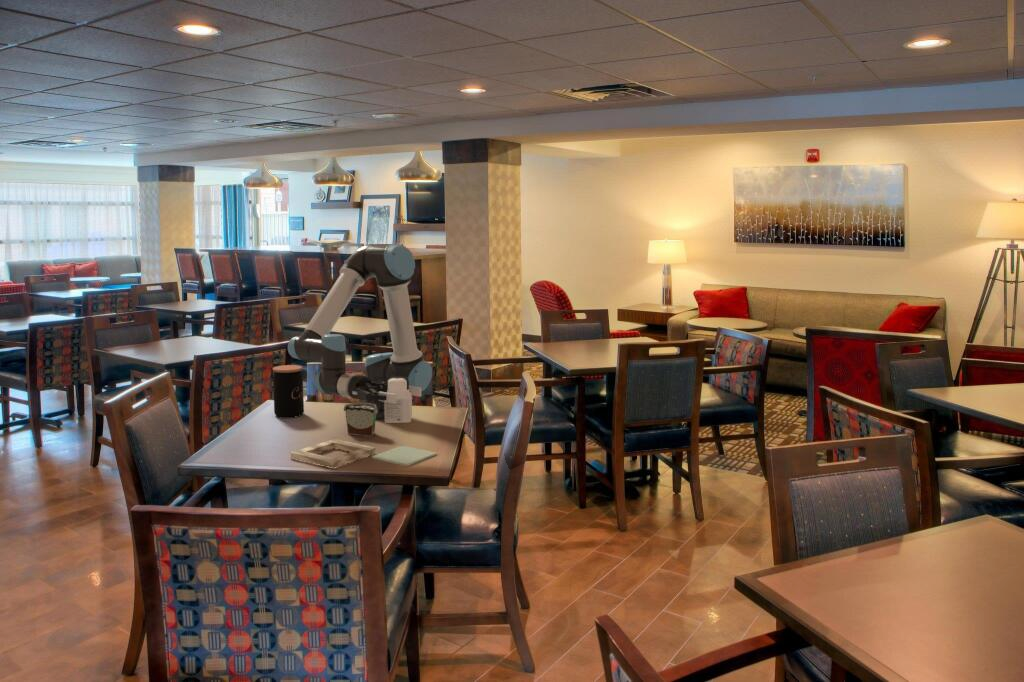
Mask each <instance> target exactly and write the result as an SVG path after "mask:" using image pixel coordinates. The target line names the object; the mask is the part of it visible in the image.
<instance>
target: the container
mask: <svg viewBox="0 0 1024 682" xmlns="http://www.w3.org/2000/svg"><path fill="white" fill-rule="evenodd" d="M387 393H392V394H397V403H396V404H394V403H388V402H384V413H385V419H384V423H386V424H389V423H391V424H392V423H397V424H398V423H411V421H412V417H413V395H412V393H411V392H409V380H408V378H405V377H391V378H389V379H388V380H387Z"/></svg>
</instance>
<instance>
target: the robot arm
mask: <svg viewBox="0 0 1024 682" xmlns="http://www.w3.org/2000/svg"><path fill="white" fill-rule="evenodd" d="M415 269H416V261H415V257H414V255H413V252H412V251H411V250H410V249H409V248H407V246H404V245H400V244H396V243H391V244H390V243H389V244H387V243H386V244H384V243H382V244H378V243H369V244H365V245H362V246H361V247H360V248H358V249H356V250H355V251H354V252H353V253H351V255H350V256H349V257H348V258H347V259H346V260H345V261H344V263H343V264H342V265H341V268H340V269H339V276H338V277H337V279H336V281H335V282H334V284H333V285H332V287H331V288H330V289H329V291H328V293H327V295H326V296H325V297H324V299H323V301H322V302H321V304H320V305H319V306H318V308H317V310H316V312H315V313H314V315H313V316H312V318H311V319H310V321H309V322H308V324H307V325H306V327H305V329H304V331H303V332H302V333H301V334H300V335H298V336H294V337H292V338H291V339H290V340H289V341H288V344H287V351H288V354H289V355H290V357H292V358H293V359H297V360H301V361H310V362H316V363H320V364H321V369H320V370H319V371H318V372H317V373H316V374H315V377H314V382H313V383H314V387H315V389H316V390H317V391H318V392H319V393H322V394H326V395H328V396H330V395H331V396H339V397H344V398H347V399H348V400H350V399H353V400H354V399H355V400H359V401H363V403H371V404H375V405H376V407H377V410H378V413H377V414H376V419H375V420H385V413H384V402H388V403H394V404H396V403H397V394H392V393H387V380H388V379H389V378H391V377H405V378H408V380H409V392H411V393H412V397H413V396H415V397H422V392H423V391H424V390H425V389H427V387H428V386H429V384H430V382H431V380H432V375H433V368H432V365H431V363H429V361H426V360H424V356H423V352H422V351H421V350H419V349H418V345H417V339H416V333H415V325H414V319H413V314H412V307H411V302H410V295H409V289H408V286H409V284H410V283H411V281H412V280H411V278H412V277H413V275H414V273H415ZM371 278H375V280H376V284H377V287H378V288H380V289H381V290H382V293H383V298H384V299H383V300H384V305H385V309H386V310H385V311H386V315H387V322H388V323H387V324H388V328H389V334H390V340H391V345H392V350H393V352H383V353H375V354H369V355H367V356H366V357H365V363H364V364H365V365H364V375H362V374H361V375H360V374H354V373H347V372H346V360H347V359H346V357H347V356H346V352H347V351H346V350H347V347H346V337H345V336H344V335H343V334H337V333H336V334H335V333H331V331H332V330H333V328H334V327H335V325H336V324H337V322H338V321H339V320H340V317H341V316H342V315H343V313H344V311H345V310H346V308H347V306H348V305H349V303H350V302H351V300H352V299H353V297H354V295H355V294H356V292H357V291H358V289H359V288H360V287H363V286H364V285H365V283H366V282H367V281H368V280H369V279H371Z"/></svg>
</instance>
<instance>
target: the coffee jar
mask: <svg viewBox="0 0 1024 682" xmlns="http://www.w3.org/2000/svg"><path fill="white" fill-rule="evenodd" d="M302 370H303V366H302V365H297V364H287V365H286V364H284V365H277V366H273V367H272V372H273V374H272V385H273V390H272V391H273V408H274V409H273V410H274V415H275V416H276V417H277V416H278V417H277V418H280V417H293V418H296V417H295V416H298V417H300V416H299V415H301V416H303V414H304V413H305V406H304V405H305V404H304V401H305V400H304V376H303V375H304V374H303V372H302Z"/></svg>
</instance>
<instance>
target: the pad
mask: <svg viewBox="0 0 1024 682" xmlns="http://www.w3.org/2000/svg"><path fill="white" fill-rule="evenodd" d="M437 455H438V453H437V452H434V451H431V450H425V449H420V448H416V447H415V448H414V447H411V446H406V445H399V446H397V447H394V448H392V449H388V450H387V451H386V450H385V451H383V452H380V453H378V454H377V453H376V454H375V455H372V456H371V459H373V458H374V459H373V460H377V459H378V461H382V462H387V463H391V464H396V465H400V466H403V467H404V466H405V467H408V466H411V465H414V464H416V463H419V462H422V461H424V460H427V459H429V458H432V457H434V456H437Z"/></svg>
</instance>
